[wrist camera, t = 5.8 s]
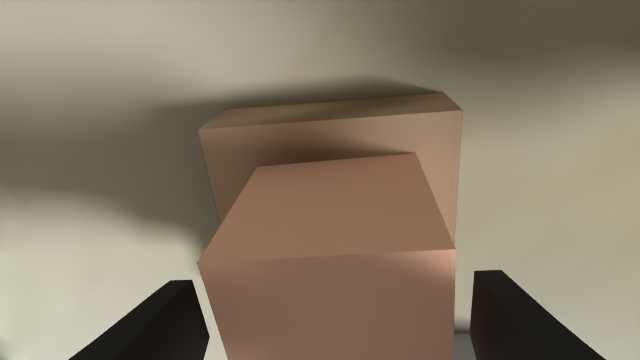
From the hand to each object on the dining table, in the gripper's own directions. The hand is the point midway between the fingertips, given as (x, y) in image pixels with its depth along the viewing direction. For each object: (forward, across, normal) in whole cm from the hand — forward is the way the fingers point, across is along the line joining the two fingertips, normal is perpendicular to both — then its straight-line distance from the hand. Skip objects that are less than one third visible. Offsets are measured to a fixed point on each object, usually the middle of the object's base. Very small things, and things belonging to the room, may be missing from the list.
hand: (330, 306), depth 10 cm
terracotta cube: (+3, 0, 0) cm, 4 cm away
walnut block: (+6, 0, 0) cm, 7 cm away
